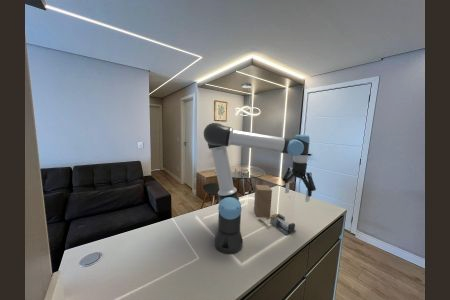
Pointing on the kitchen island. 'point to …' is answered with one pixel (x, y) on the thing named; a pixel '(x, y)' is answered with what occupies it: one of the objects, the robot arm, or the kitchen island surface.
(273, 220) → the gauge housing
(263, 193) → the wooden block
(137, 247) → the kitchen island surface
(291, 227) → the gauge slider with pointer
